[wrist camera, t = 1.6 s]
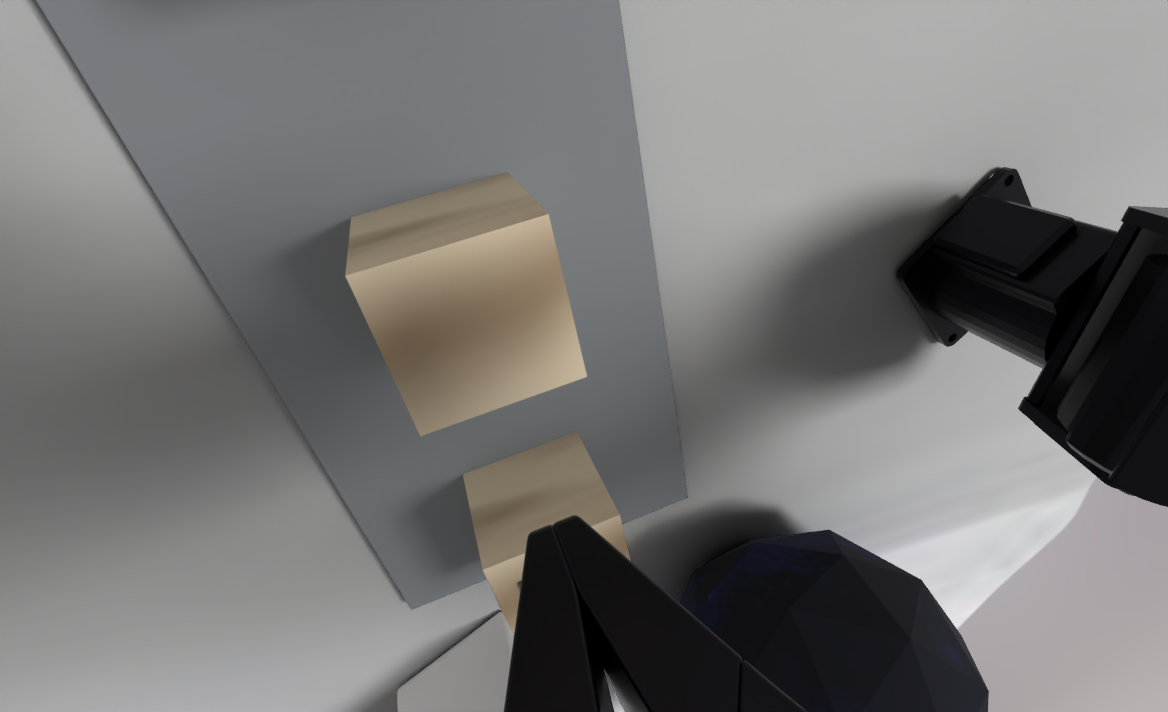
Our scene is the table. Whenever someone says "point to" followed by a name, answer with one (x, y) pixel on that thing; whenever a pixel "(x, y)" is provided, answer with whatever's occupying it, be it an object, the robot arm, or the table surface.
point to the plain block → (465, 300)
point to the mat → (388, 177)
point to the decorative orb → (836, 626)
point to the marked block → (534, 509)
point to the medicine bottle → (464, 674)
